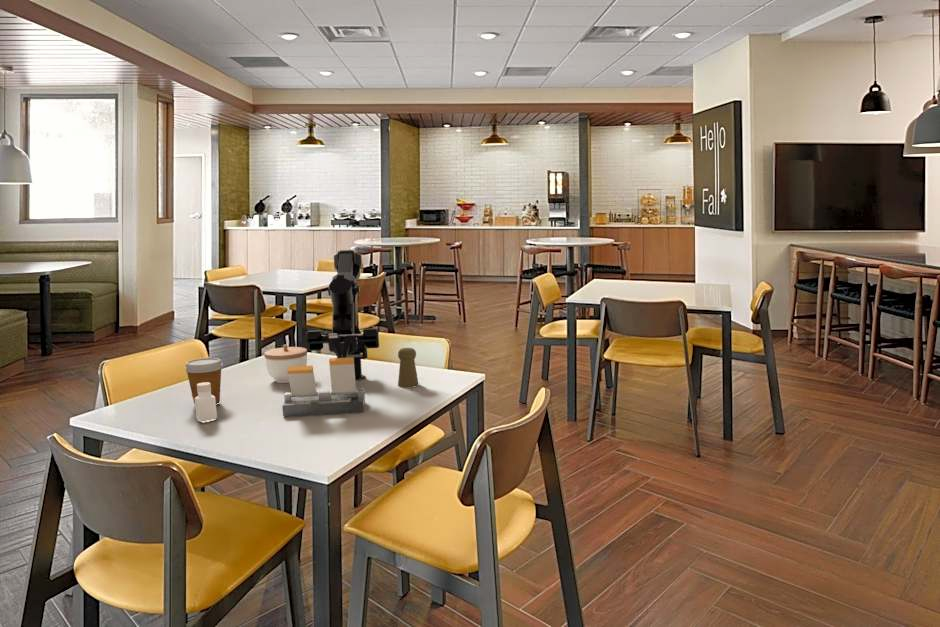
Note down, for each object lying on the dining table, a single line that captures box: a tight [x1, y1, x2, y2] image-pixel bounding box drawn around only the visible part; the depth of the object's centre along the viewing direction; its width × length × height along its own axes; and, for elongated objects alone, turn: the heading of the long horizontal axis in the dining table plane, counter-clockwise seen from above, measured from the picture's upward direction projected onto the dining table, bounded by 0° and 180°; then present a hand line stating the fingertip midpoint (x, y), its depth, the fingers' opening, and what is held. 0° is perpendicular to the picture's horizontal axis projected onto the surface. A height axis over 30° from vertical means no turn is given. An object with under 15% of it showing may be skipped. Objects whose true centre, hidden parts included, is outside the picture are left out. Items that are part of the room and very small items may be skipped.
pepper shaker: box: [397, 347, 419, 388], centre depth 195 cm, size 6×6×11 cm
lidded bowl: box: [264, 344, 308, 384], centre depth 204 cm, size 13×13×11 cm
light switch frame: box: [282, 388, 366, 417], centre depth 173 cm, size 9×20×5 cm, turn 96°
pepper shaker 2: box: [194, 382, 218, 421], centre depth 166 cm, size 4×4×10 cm
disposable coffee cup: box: [184, 357, 224, 405], centre depth 180 cm, size 10×10×12 cm
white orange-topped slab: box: [287, 365, 319, 397], centre depth 169 cm, size 1×7×10 cm
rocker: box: [328, 357, 358, 395], centre depth 171 cm, size 1×7×10 cm, turn 96°
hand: (342, 366), depth 171 cm, fingers closed
